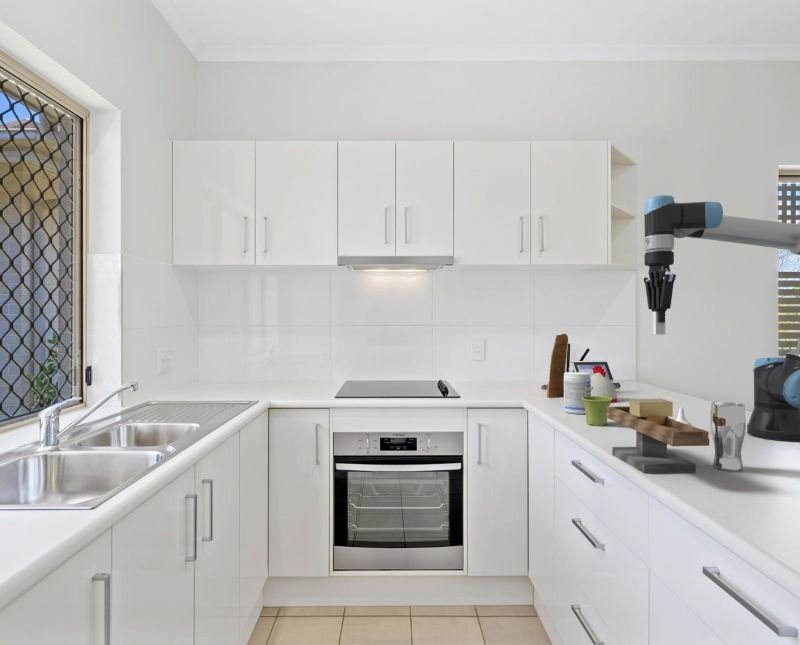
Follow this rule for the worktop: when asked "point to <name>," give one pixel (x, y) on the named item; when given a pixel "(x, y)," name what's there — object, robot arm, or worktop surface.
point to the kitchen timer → (602, 384)
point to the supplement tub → (576, 391)
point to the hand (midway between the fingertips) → (659, 334)
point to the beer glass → (728, 434)
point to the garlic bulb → (682, 416)
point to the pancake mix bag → (557, 367)
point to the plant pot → (596, 409)
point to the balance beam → (656, 442)
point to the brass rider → (652, 409)
